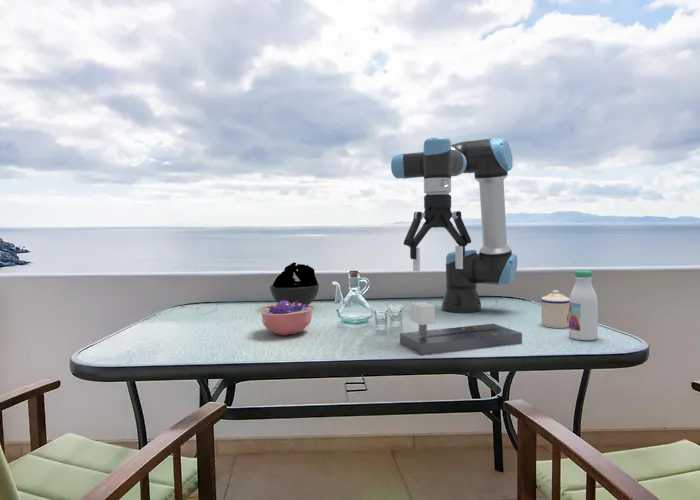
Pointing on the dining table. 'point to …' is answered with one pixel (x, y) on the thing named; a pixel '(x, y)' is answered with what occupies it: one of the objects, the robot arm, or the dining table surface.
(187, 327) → the dining table surface
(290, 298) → the coal bowl
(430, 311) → the fader knob
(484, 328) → the fader console
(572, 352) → the dining table surface
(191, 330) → the dining table surface
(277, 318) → the cell model
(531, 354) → the dining table surface
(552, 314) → the teacup with lid
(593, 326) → the milk bottle
